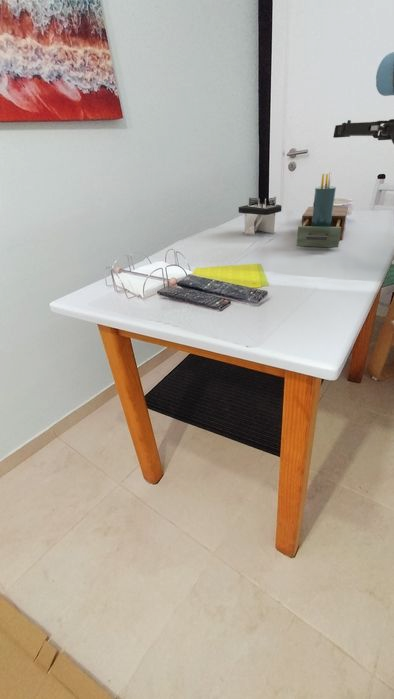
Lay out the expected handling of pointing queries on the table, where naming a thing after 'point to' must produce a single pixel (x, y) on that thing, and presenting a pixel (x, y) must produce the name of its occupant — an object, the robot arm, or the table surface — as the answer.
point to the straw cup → (323, 203)
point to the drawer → (319, 234)
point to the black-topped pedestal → (260, 215)
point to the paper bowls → (344, 204)
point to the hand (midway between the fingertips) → (358, 133)
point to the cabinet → (337, 214)
